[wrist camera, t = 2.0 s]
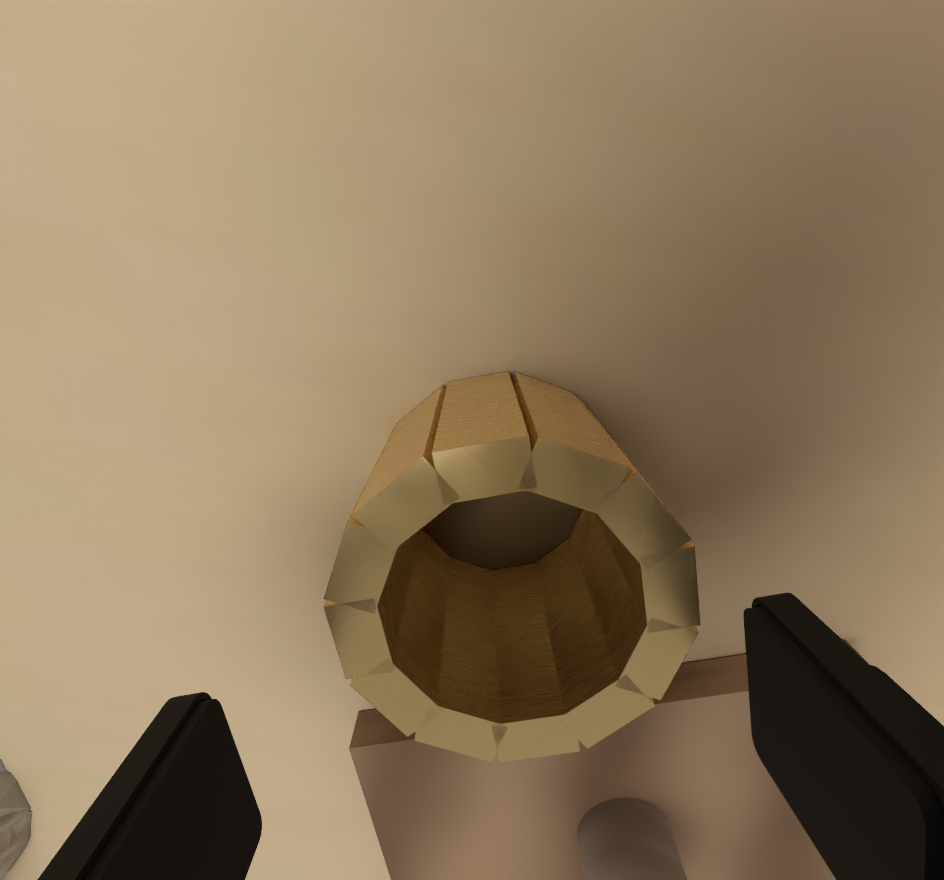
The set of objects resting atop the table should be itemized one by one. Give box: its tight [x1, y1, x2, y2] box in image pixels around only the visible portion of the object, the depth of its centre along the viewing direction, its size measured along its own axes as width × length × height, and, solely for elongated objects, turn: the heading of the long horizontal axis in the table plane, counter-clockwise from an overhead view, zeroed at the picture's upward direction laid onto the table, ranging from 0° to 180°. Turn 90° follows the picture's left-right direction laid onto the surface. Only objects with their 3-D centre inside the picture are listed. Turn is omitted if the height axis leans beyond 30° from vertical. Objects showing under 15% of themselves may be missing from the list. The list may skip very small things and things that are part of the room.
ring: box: [324, 371, 700, 763], centre depth 13 cm, size 7×7×6 cm
